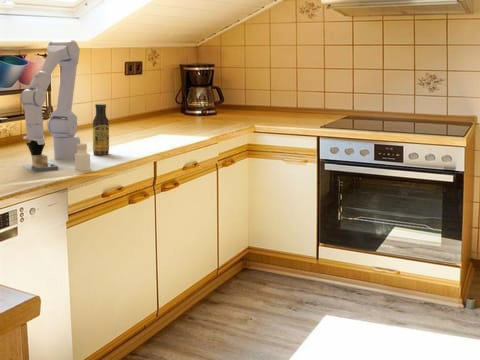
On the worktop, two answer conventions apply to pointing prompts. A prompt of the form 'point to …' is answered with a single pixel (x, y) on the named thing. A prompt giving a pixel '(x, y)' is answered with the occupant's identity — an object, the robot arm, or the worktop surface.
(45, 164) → the maple block
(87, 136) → the worktop surface
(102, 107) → the sauce bottle
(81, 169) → the pepper shaker
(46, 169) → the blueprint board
